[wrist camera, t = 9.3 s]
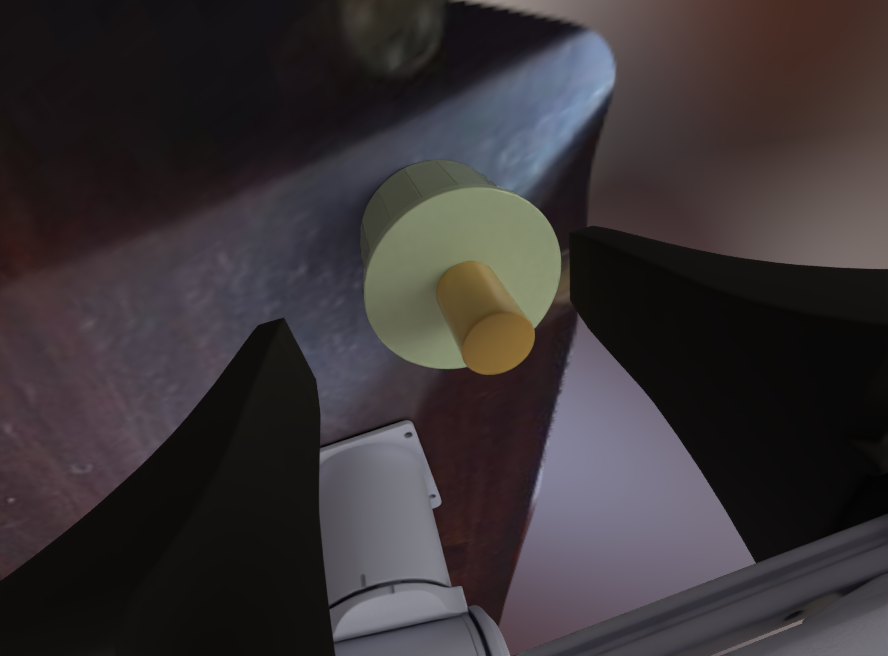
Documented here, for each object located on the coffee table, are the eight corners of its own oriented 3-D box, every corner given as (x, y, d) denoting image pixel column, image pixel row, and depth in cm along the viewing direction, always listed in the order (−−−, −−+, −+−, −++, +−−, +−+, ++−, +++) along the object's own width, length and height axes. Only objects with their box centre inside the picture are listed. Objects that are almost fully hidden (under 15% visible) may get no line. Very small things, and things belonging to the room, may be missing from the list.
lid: (553, 322, 20) (608, 391, 16) (391, 374, 19) (410, 458, 15) (543, 151, 15) (617, 193, 12) (331, 213, 15) (337, 277, 11)
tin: (512, 277, 23) (552, 329, 19) (384, 317, 22) (399, 379, 19) (495, 140, 19) (543, 171, 15) (338, 185, 18) (345, 229, 14)
